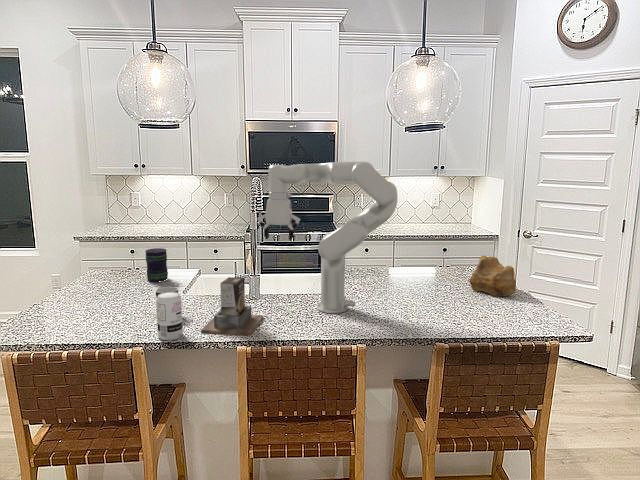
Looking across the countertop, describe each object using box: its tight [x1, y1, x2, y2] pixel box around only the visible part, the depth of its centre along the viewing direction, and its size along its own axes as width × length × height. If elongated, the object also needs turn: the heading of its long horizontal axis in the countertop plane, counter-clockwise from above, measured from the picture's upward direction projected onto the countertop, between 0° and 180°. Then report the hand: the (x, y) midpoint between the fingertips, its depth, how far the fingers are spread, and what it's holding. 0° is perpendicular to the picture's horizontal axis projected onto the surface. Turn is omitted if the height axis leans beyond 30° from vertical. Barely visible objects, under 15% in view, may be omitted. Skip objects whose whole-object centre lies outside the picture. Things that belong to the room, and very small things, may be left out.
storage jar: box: [145, 247, 169, 283], centre depth 239 cm, size 10×10×15 cm
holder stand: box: [200, 305, 264, 336], centre depth 180 cm, size 18×18×6 cm
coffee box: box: [219, 276, 246, 316], centre depth 179 cm, size 9×6×16 cm
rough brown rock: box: [468, 255, 517, 298], centre depth 223 cm, size 23×17×15 cm
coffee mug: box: [154, 286, 180, 298], centre depth 189 cm, size 12×9×10 cm
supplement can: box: [155, 292, 184, 341], centre depth 168 cm, size 8×8×15 cm
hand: (278, 238), depth 197 cm, fingers open, 9 cm apart
